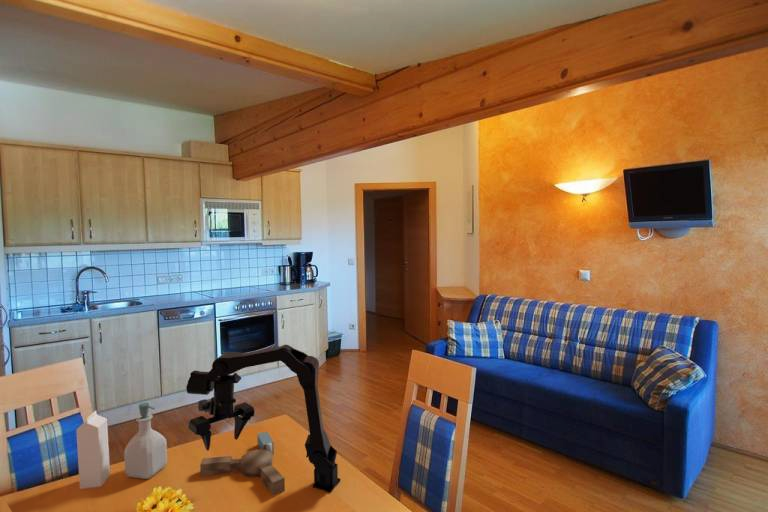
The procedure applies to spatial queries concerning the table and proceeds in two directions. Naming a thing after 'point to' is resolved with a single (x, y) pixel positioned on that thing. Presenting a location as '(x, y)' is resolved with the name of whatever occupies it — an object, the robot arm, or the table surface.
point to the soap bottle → (145, 448)
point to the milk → (93, 452)
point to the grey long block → (265, 442)
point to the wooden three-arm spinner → (247, 468)
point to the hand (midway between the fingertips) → (222, 444)
